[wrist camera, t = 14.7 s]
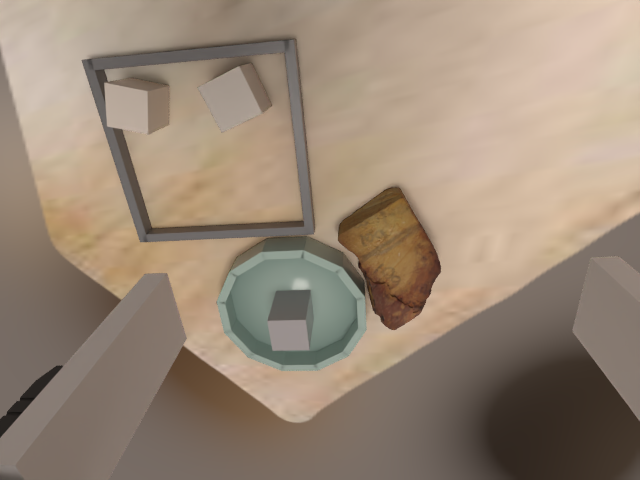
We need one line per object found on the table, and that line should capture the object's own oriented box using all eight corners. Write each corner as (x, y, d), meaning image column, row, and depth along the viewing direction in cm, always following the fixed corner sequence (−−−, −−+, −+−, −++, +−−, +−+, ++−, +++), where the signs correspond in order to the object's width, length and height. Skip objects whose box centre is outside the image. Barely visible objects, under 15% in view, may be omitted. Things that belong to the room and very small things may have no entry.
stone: (331, 212, 46) (329, 232, 41) (407, 181, 44) (414, 198, 39) (379, 309, 52) (382, 336, 47) (449, 286, 50) (459, 312, 45)
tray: (91, 59, 40) (81, 59, 39) (296, 39, 38) (294, 39, 37) (146, 236, 49) (140, 242, 48) (315, 228, 47) (313, 234, 46)
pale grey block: (214, 82, 40) (197, 87, 36) (251, 62, 39) (239, 65, 35) (235, 122, 42) (221, 132, 38) (272, 105, 41) (262, 113, 37)
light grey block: (131, 77, 41) (104, 82, 36) (169, 85, 41) (147, 91, 36) (132, 117, 43) (107, 126, 38) (169, 124, 43) (148, 134, 38)
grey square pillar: (276, 290, 50) (267, 320, 45) (310, 289, 50) (305, 319, 44) (280, 318, 52) (272, 350, 47) (313, 318, 52) (309, 350, 46)
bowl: (214, 240, 49) (205, 254, 46) (362, 233, 47) (362, 247, 44) (240, 353, 57) (233, 371, 54) (367, 351, 55) (368, 369, 52)
